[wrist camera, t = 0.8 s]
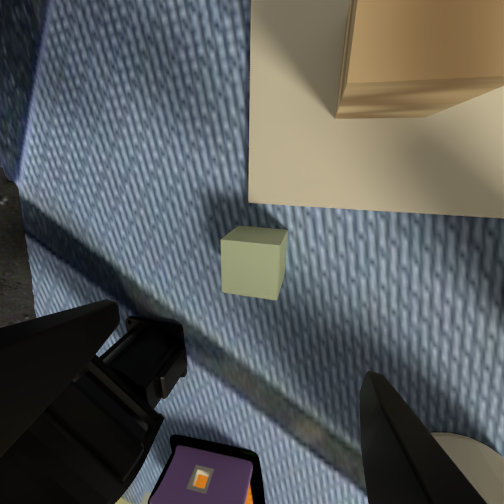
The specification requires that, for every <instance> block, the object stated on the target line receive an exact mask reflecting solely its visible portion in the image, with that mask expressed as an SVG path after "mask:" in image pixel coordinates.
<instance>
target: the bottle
mask: <svg viewBox="0 0 504 504" xmlns="http://www.w3.org/2000/svg"><path fill="white" fill-rule="evenodd" d="M431 434H432V436H433V437H434V438H435V439H436V441H437V442H438V443H439V444H440V446H441V447H442V448H443V449H444V451H445V452H446V453H447V454H448V456H449V457H450V458H451V459H452V461H453V462H454V463H455V464H456V465H457V467H458V468H459V469H460V470H461V472H462V473H463V474H464V475H465V477H466V478H467V479H468V480H469V482H470V483H471V484H472V485H473V487H474V488H475V489H476V490H477V491H478V493H479V494H480V495H481V496H482V498H483V499H484V500H485V501H486V503H487V504H504V458H503V457H502V456H500V455H499V454H498V453H496V452H495V451H494V450H493V449H491V448H490V447H488V446H486V445H485V444H483V443H481V442H479V441H476V440H474V439H472V438H469V437H467V436H463V435H458V434H453V433H437V432H432V433H431Z"/></svg>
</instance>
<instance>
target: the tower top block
mask: <svg viewBox="0 0 504 504" xmlns="http://www.w3.org/2000/svg"><path fill="white" fill-rule="evenodd" d="M502 86H504V0H352V5H351V13H350V22H349V30H348V38H347V46H346V54H345V62H344V70H343V79H342V87H341V95H340V103H339V107H343V106H380V105H417V104H454V103H463V102H465V101H468V100H470V99H473V98H475V97H478V96H480V95H482V94H485V93H487V92H490V91H492V90H495V89H497V88H500V87H502Z"/></svg>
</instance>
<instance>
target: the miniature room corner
mask: <svg viewBox="0 0 504 504" xmlns="http://www.w3.org/2000/svg"><path fill="white" fill-rule="evenodd" d="M170 445H171V449H172V454H171V456H170V457H169V459H168V461H167V463H166V465H165V467H164V469H163V471H162V473H161V475H160V477H159V479H158V481H157V483H156V485H155V487H154V489H153V491H152V493H151V495H150V497H149V500H148V504H265V497H264V488H263V481H262V473H261V467H260V461H259V457H258V455H257V454H256V453H255V452H253V451H250V450H246V449H242V448H238V447H233V446H229V445H224V444H220V443H215V442H210V441H206V440H201V439H196V438H191V437H186V436H181V435H172V436H171V437H170Z"/></svg>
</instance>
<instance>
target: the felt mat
mask: <svg viewBox="0 0 504 504" xmlns="http://www.w3.org/2000/svg"><path fill="white" fill-rule="evenodd" d="M349 4H350V0H251V38H250V115H249V191H248V203H262V204H278V205H294V206H310V207H326V208H343V209H359V210H375V211H391V212H408V213H424V214H440V215H456V216H472V217H489V218H504V86H502V87H500V88H497V89H495V90H492V91H490V92H487V93H485V94H482V95H480V96H478V97H475V98H473V99H470V100H468V101H465V102H463V103H460V104H458V105H455V106H453V107H450V108H448V109H445V110H443V111H440V112H438V113H435V114H433V115H430V116H428V117H425V118H363V119H335V114H336V105H337V97H338V89H339V80H340V72H341V64H342V55H343V47H344V39H345V30H346V22H347V15H348V9H349Z"/></svg>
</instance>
